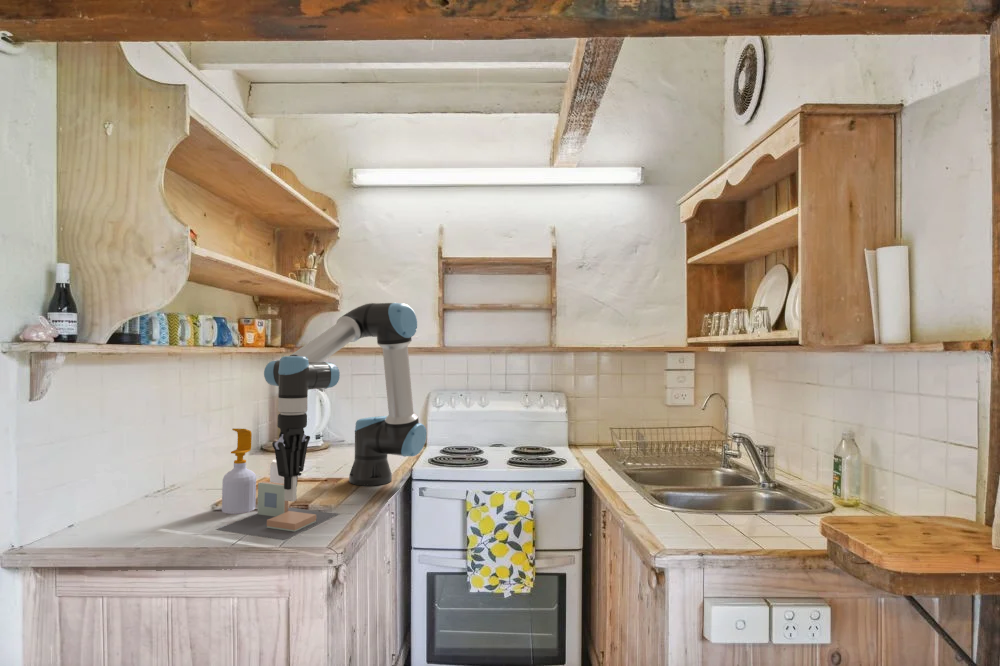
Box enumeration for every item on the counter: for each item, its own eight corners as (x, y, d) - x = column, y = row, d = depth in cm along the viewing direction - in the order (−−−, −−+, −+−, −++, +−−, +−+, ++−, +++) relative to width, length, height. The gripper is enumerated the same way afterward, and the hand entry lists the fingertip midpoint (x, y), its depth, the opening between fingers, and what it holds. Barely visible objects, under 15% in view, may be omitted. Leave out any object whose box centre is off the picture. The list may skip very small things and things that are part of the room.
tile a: (289, 510, 164) (266, 520, 156) (316, 514, 161) (295, 524, 153) (289, 518, 164) (266, 528, 156) (316, 522, 161) (294, 532, 153)
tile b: (262, 512, 170) (263, 481, 170) (288, 515, 167) (288, 484, 167) (257, 514, 168) (257, 482, 168) (283, 517, 165) (283, 485, 165)
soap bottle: (216, 515, 168) (218, 429, 168) (230, 506, 177) (232, 425, 177) (247, 516, 168) (249, 430, 168) (260, 507, 177) (262, 425, 177)
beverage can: (263, 499, 185) (264, 461, 186) (281, 493, 193) (282, 456, 193) (285, 502, 183) (285, 463, 183) (301, 495, 191) (302, 458, 191)
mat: (277, 507, 177) (277, 505, 177) (339, 516, 170) (339, 514, 170) (215, 531, 154) (215, 529, 154) (284, 542, 147) (284, 540, 147)
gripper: (296, 409, 166) (294, 493, 165) (264, 414, 153) (262, 505, 153) (319, 411, 163) (316, 496, 163) (288, 416, 151) (285, 508, 151)
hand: (290, 500), depth 158 cm, fingers closed
